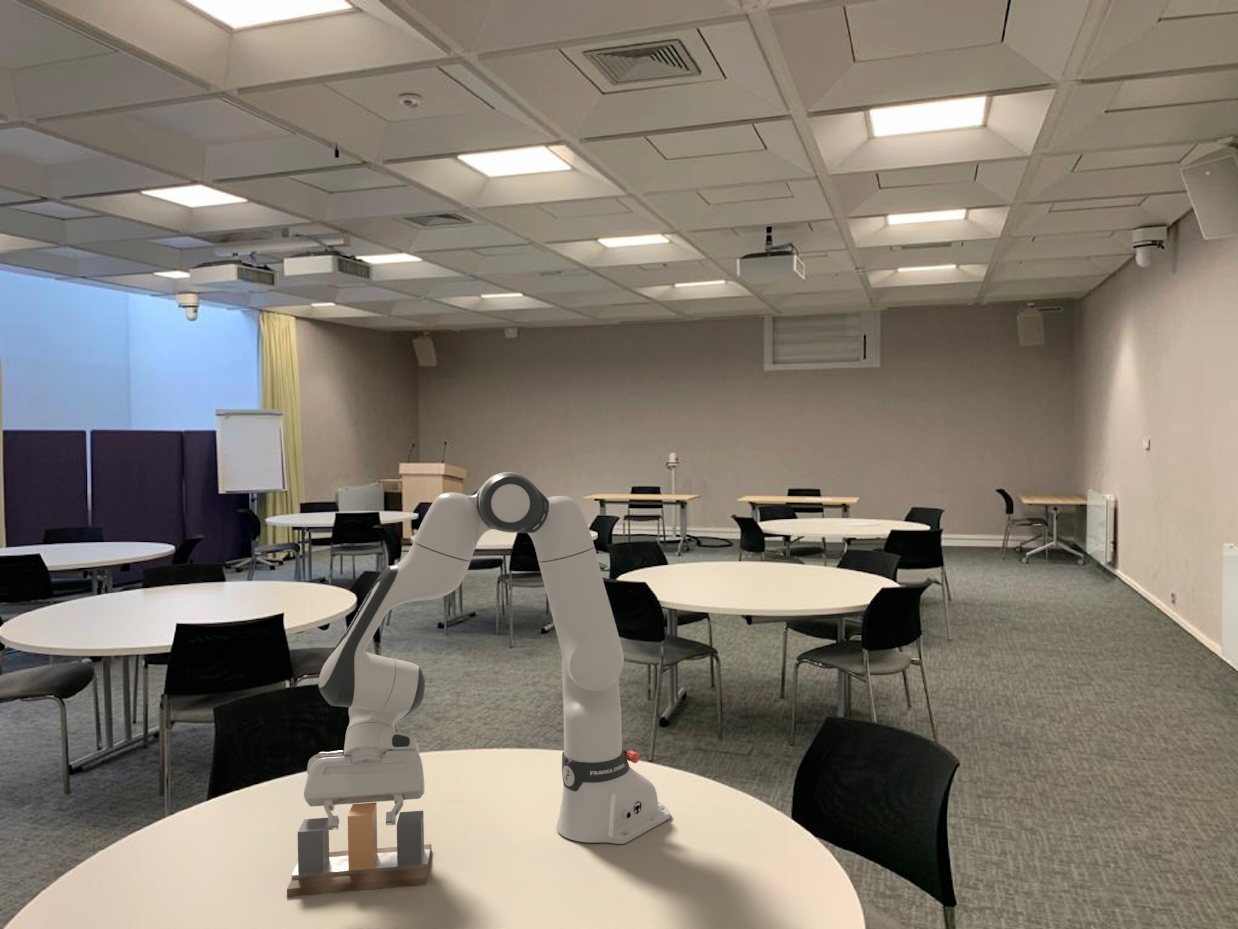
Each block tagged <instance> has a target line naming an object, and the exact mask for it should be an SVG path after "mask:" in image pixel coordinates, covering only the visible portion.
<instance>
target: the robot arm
mask: <svg viewBox="0 0 1238 929" xmlns="http://www.w3.org/2000/svg"><path fill="white" fill-rule="evenodd" d="M490 530H495V531H498V532H503V533H512V534H513V533H515V534H517V533H521V534H523V533H524V534H527V535H528V536H529V537H530V539H531V541H532V543H533V547H534V549H535V553H536V558H537V562H538V566H539V569H540V573H541V578H542V581H543V584H544V588H545V589H544V590H545V593H546V597H547V601H548V604H549V608H550V613H551V616H552V620H553V625H554V628H555V632H556V636H557V640H558V645H559V649H560V652H561V674H562V676H561V677H562V702H563V703H562V704H563V705H562V708H563V751H562V754H561V775H562V777H561V778H562V782H563V784H562V785H563V787H562V788H563V789H562V799H561V806H560V810H559V815H558V819H557V822H556V831H557V832H558V833H559V834H560V835H561V836H563V837H564V838H566V839H569V840H572V841H576V842H580V843H590V844H591V843H595V844H597V843H607V844H615V845H616V844H617V845H624V844H626V843H629V842H631V841H632V840H633V839H635V838H637V837H639V836H641V835H643V834H644V833H646V832H649V830H651V829H654V828H655V827H657V826H659V825H660V824H663V823H664V822H666V821H667V820H669V819H670V818H671V813H670V810H669V808H668V807H667V806H665V805H664V804H663V803H661V802H660V801H659V800H658V799H659V798H658V794H657V790H656V787H655V786H654V784H653V783H652V782H651V781H650V780H649V779H647V778H646V777H645V776H643V775H642V774H640V773H639V772H637V771H636V770H635V769H634V768H632V767H631V766H630V764H629V762H631V763H633V764H636V763H639V760H640V754H639V752H637V751H634V750H628V751H627V749H624V748H623V742H622V741H623V740H622V738H623V736H622V735H623V733H622V729H623V728H622V724H623V723H622V705H621V694H620V693H621V692H620V690H621V689H620V681H619V680H620V679H619V678H620V675H621V673H622V670H623V667H624V662H625V655H624V649H623V646H622V642H621V639H620V635H619V632H618V628H617V624H616V621H615V617H614V614H613V611H612V607H611V606H612V605H611V603H610V600H609V596H608V593H607V592H608V591H607V590H606V586H605V583H604V578H603V574H602V571H601V566H600V563H599V558H598V555H597V551H596V547H595V544H594V541H593V540H594V539H593V537H592V533H591V530H590V528H589V525H588V522H587V520H586V518H585V515H584V513H583V511H582V509H581V506H580V505H579V503H578V501H577V500H575V499H574V498H572V497H569V496H567V495H565V496H564V495H553V496H549V497H546V495H544V493H543V492H541V490H539V489H538V487H536V485H535V484H534V483H533V482H532V481H531V480H529V478H526V477H525V476H523V475H521V474H519V473H516V472H510V471H509V472H508V471H504V472H500V473H497V474H496V473H495V474H494V475H492V476H490V477H489V478H488V479H487V480H486V481H485V482H484V483H483V484H482V485H480V487H479V488H478V489H476V490H475V491H474V492H473V493H471V494H470V495H467V494H463V493H461V492H444V493H441V494H439V495H438V496H437V497H436V498H435V499H434V500H433V502H432V504H431V505H430V507H429V508H428V511H427V512H426V514H425V515H424V517H423V519H422V521H421V523H420V526H419V528H418V530H417V532H416V535H415V537H414V539H413V542H412V545H411V546H410V549H409V550H408V551H407V553H406V554H405V556H404V557H403V558H402V559H400V561H398V562H397V563H396V564H393V565H389V566H387V567H385V568H384V570H382V572H381V573H379V575H378V577H377V579H376V580H375V582H374V583H373V584H372V586H371V588H370V589H369V591H368V592H367V594H366V595H365V598H364V599H363V601H362V603H361V604H360V606H359V608H358V609H357V610H356V613H355V615H354V616H353V618H352V620H351V621H350V623H349V625H348V627H347V629H346V631H345V632H344V634H343V635H342V637H341V639H340V640H339V642H338V643H337V645H336V646H335V648H334V649H333V650H332V652H330V654H329V656H328V657H327V660H326V661H325V662H324V664H323V666H322V668H321V671H320V673H319V677H318V682H317V688H318V690H319V692H320V694H321V695H322V697H323V699H324V700H325V701H326V702H327V703H328V704H329V705H330V706H331V707H332V706H333V707H345V708H348V716H349V717H348V718H349V722H348V723H349V724H348V726H347V729H346V730H345V731H346V732H345V737H344V738H345V739H344V747H343V750H334V751H333V750H332V751H320V752H318V753H317V754H315V755H313V756H312V757H310V758H309V760H308V762H307V767H306V768H307V769H306V774H307V778H306V782H305V786H304V790H303V797H304V801H305V802H306V803H307V805H308V806H309V807H323V808H324V811H325V813H326V815H327V818H329V821H328V828H329V831H333V830H339V824H340V818H339V815H334V814H333V813H332V812H333V811H335V806H336V805H339V806H340V805H353V804H362V803H376V802H377V803H379V802H394V806H393V808H392V809H391V810H390V811H386V814H385V816H386V818H385V824H386V826H395V825H396V824H397V821H396V820H397V816H398V814H400V812H401V810H402V808H403V806H404V801H406V800H407V801H409V800H418V799H421V798H422V796H423V795H424V794H425V788H426V786H425V775H424V768H423V763H422V762H423V760H422V759H421V756H420V747H419V743H418V740H417V738H416V737H415V736H412V735H407V734H402V733H399V732H396V728H395V727H396V722H397V721H398V720H402V719H404V718H406V717H407V716H409V715H411V714H412V713H413V712H415V711H416V710H417V709H418V708H419V707H420V706H421V704H422V702H423V699H424V696H425V687H426V679H425V675H424V673H423V671H422V669H421V668H420V666H419V665H418V664H416V663H413V662H411V661H406V660H401V659H399V658H394V657H387V656H383V655H379V654H375V653H370V652H366V649H367V648H368V646H369V644H370V642H371V640H372V639H373V637H374V636H375V633H376V632H377V630H378V628H379V627H380V625H381V623H382V621H383V620H384V617H386V615H387V613H389V612H390V611H391V610H392V609H394V608H395V607H397V606H400V605H402V604H406V603H407V604H408V603H413V602H418V601H420V602H421V601H431V600H435V599H438V598H439V599H440V598H443V597H445V596H447V595H449V594H451V593H453V592H454V591H456V590H457V589H458V588H459V587H460V585H461V584H462V582H463V581H464V579H465V577H466V574H467V572H468V570H469V567H470V564H471V562H472V558H473V555H474V553H475V550H476V549H477V548H476V547H477V546H478V543H479V541H480V540H481V538H482V537H483V535H484V534H486V533H487V532H489V531H490Z"/></svg>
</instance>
